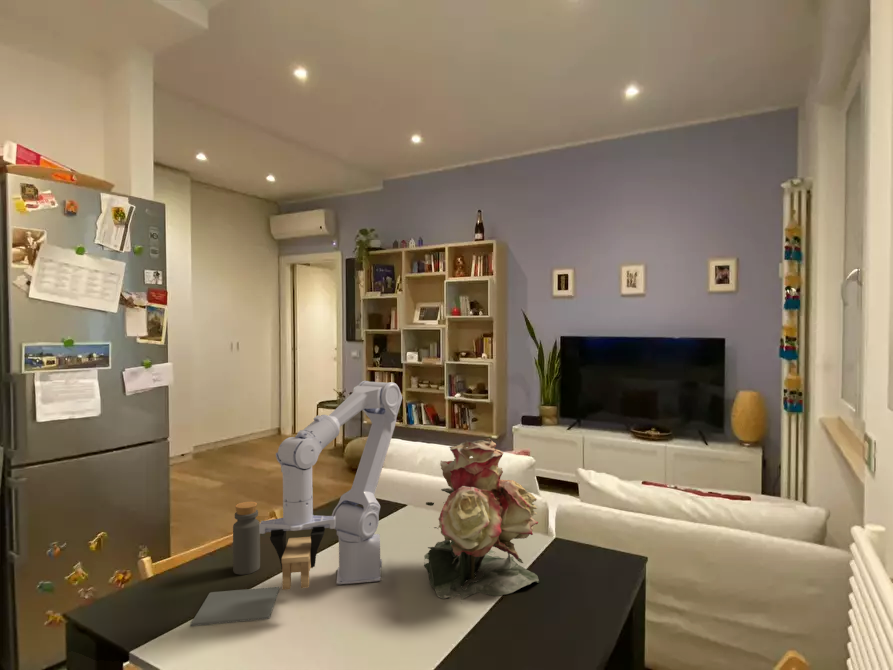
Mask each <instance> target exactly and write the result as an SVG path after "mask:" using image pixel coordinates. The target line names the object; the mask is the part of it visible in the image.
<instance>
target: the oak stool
mask: <svg viewBox="0 0 893 670" xmlns="http://www.w3.org/2000/svg"><path fill="white" fill-rule="evenodd" d="M313 568H314V567H311V536H303V537H301V536H299V537H289V538H288V540H287V542H286V548H285V551H284V553H283V556H282V569H281V570H282V571H281V573H282V575H281V577H282V583H281V584H282V587H281V588H282V591H284V590H285V591H287V590H291V587H292V573H293V574H294V573H300V589H308V588H309V587H310V571H311V569H313Z"/></svg>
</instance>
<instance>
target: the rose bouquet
mask: <svg viewBox="0 0 893 670" xmlns="http://www.w3.org/2000/svg"><path fill="white" fill-rule="evenodd" d="M483 439H484V440H483ZM483 439H482V440H481V439H480V440H474V441H464V442H461V443H459V444H458V445H453V446H448V448H449V450H450V452H452V454H453V458H454V459H453V460H448V461H447V460H446V461H444V460H440V470H442V476H443V478H444V479H445V482H446V483H447V485H448V487H447V488H441V489H440V491H442V492H444V493H446V494H448V496H447V499H446V500H445V501H444V503H443V507H442V509H441V511H440V514H439V517H438V524H439V525H438V526H437V527H433V528H434V529H437V530H439V528H440V534H441V535H442V536H443V537H444V540H442V541H437V542H436V543H435V545H434V546H429V547H427V549H429V551H428V552H427V553H426V554H424V560H428V562H426V563H425V562H423V563H424V565H423V566H424V568H425V569H426V572H427V574H428V580H429V584H430V586H431V588H433V589H434V591H435V594H436V596H437V597H439V598H440V599H442V600H446V599H447V600H449V599H454V598H456V597H457V595H459V596H460V597H461V598H460V603H461V604H463V603H462V600H464V599H466V598H467V597H470V596H473V595H475V594H478V593H481V594H484V595H489V596H493V597H498V596H502V595H509V594H513V593H514V592H516V591H518V590H520V589H521V588H524V587H526V586H529V585H531V584H532V583H541V582H540V580H539V577H538V574H536V573H535V572H533V571H530V570H528V569H526V568H525V567H524V566H521V564H524V562H523V560H522V558H520V556H519V554H518V552H517V550H516V549H515V548H516V547H515V544H514V543H513V542H512V540H514V539H515V540H518V539H520V540H521V539H523V540H524V539H527V538H528V537H529V536H533V535H534V533H533V531H534V527H533V526H534V525H538V523H539V521H536V520H535V519H534V518H533V517H534V515H537V514H538V513H537V512H536V511H534V510H537V509H538V507H537V505H535V504H533V503H534V502H537V500H538V499H537V497H535V496H534V495H533V494H532V493H530V492H529V491H527V490H526V488H524V487H523V486H522V485H521V484H520V483H518V482H517V481H515V480H513V479H511V480H510V479H501V477H502V475H503V473H504V471H503V468H502V467H499V462H500V460H501V459H502V457H503V455H504V452H503V451H501V450H500V449H496V447H497V444H496V442H494V441H493V440H492V439H491V438H490V437H488V438H483ZM425 505H426V506H430V507H433V506H434V505H435V502H432V501H427V502H425ZM429 528H430V527H429ZM492 548H496V549H498V550H501V551H502V552H504V553H507V555H508V556H507V557H506V558H503V557H500V556H499V555H496V556H495V555H494V554H496V551H495V550H492ZM489 554H491V555H489ZM492 555H494V556H492ZM514 559H516V561H515V560H514ZM517 562H519V563H521V564H518V563H517ZM479 570H480V571H481V572H482V576H481V578H480V579H478V580H476V578H477V577H478V576H477V574H476V573H478V572H479ZM474 579H475V581H473V582H469V583H467V582H468V581H469V580H470V581H471V580H474ZM466 583H467V586H466V588H463V586H464V585H465V584H466Z"/></svg>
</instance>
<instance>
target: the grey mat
mask: <svg viewBox="0 0 893 670" xmlns="http://www.w3.org/2000/svg"><path fill="white" fill-rule="evenodd" d="M279 591H280V586H270V587H269V586H268V587H257V588H248V589H246V588H245V589H235V590H233V589H232V590H225V591H224V590H223V591H222V590H221V591H211V592H209V593H208V595H207V597H206V598H205V600H204V601H203V603H202V605H201V606H200V608H199V610H198V611H197V612H196V614H195V616H194V618H193V619H192V621H191V623H190V627H196V626H204V625H205V624H207V625H215V624H217V623H218V624H223V623H224V624H227V623H228V624H229V623H236V621H239V622H247V621H259V620H270V617H271V615H270V614H272V612H271V611H273V609H272V608H274V605H275V602H276V599H277V597H278V593H279ZM226 622H227V623H226Z"/></svg>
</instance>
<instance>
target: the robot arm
mask: <svg viewBox="0 0 893 670" xmlns="http://www.w3.org/2000/svg"><path fill="white" fill-rule="evenodd" d="M402 400H403V395H402V393H401V390H400V387H399V386H398V384H397V383H395V382H394V381H391V382H385V381H384V382H383V381H381V382H380V381H369V380H363V381H360V382H359V383H358V385H356V386H354V387H353V389H352V392H351V393H350V395H349V396H348V397H346V399H345V400H343V401H342V403H340V404H339V405H338V406H337V407H336V408H335V409H334V410H333V411H332V412H330V414H328V415H327V414H320V415H316V416H314V418H313V421H312V422H311V423H310V424H308V425H307V426H306V427H304V429H300V430H299V431H297V434H296V435H295V437H294V436H291V437H287V438H285V439H283V441H282V442H281V443H280V445H279V446H278V448H277V449H278V450H277V452H275V458H276V461H277V462H278V463H279V465H280V470H281V471H280V472H281V473H282V516H283V517H279V518H273V519H267V520H261V521H260V524H259V526H260V535H264V534H266V533H270V535H269V539H270V540H269V541H270V542H271V544H272V545H273V548H274V549H275V551H276V553H277V555H278V560H279V563H280V567H281V570H282V556H283V553H284V551H285V548H286V545H287V532H289V531H291V532H292V531H293V532H297V531H303V530H311V531H310V532H311V533H310V537H311V567H313V568H315V567H316V558H317V553H318V550H319V546H320V545H321V542H322V540H323V538H324V535H325V531H326V529H329V530H333V529H334V530H335V531H336V536H338V568H337V573H336V582H335V583H336V585H349V584H361V583H371V582H380V581H381V579H382V578H381V569H382V568H383V567H382V565H383V564H382V563H383V561H382V558H381V535H380V534H379V533H376V532H377V529H378V526H379V521H380V520H379V519H380V518H379V515H380V511H381V505H380V502H379V501H378V500H377V498H376V496H375V494H376V490H377V488H378V483H379V480H380V476H381V473H382V470H383V467H384V463H385V461H386V457H387V453H388V450H389V447H390V444H391V440H392V437H393V435H394V431H395V429H396V423H397V417H398V414H399V411H400V407H401V404H402ZM361 411H363V413H364V414H365V415H366V417H368V419H369V420H370V422H371V426H370V428H369V432H368V436H367V438H366V441H365V444H364V448H363V451H362V454H361V457H360V460H359V464H358V467H357V470H356V473H355V476H354V479H353V482H352V484H351V485H352V486H351V488H350V489H349V490H348V491H346V492H345V493H343V494H341V496H340V499H339V501H338V503H337V505H336V506H335V508H334V509H333V510H332V514H331V515H314V509H313V507H314V502H313V501H314V497H313V494H314V493H313V489H314V488H313V466H315V465H316V463H317V462H318V460H319V456H320V454H321V453H322V450H324V449H325V448H326V447H327V446H328V445H329V444H331V442H333V440H335V439H336V438H338V436H339V434H340V428H341V427H342V426H343V425H344V424H346V423H347V422H349V421H350V420H351V419H353V418H354V417H355V416H356V415H358V414H359V413H360V412H361ZM359 505H361V506H359Z"/></svg>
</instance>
